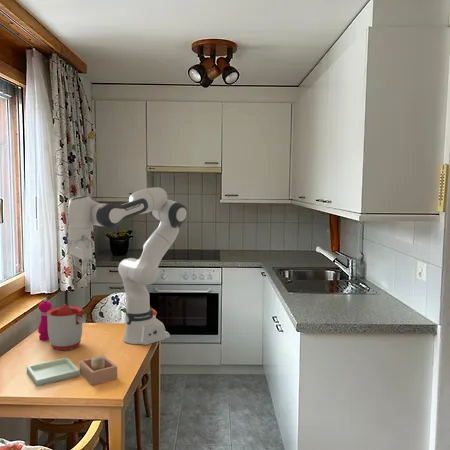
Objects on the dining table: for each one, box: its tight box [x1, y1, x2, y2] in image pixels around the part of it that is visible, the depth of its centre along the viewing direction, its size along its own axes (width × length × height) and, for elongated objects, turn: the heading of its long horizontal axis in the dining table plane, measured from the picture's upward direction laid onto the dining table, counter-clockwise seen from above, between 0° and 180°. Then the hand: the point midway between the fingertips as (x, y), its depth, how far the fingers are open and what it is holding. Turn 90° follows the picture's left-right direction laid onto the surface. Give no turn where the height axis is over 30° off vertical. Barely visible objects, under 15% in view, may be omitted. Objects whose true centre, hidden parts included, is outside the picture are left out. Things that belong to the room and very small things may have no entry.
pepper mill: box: [37, 297, 53, 342], centre depth 219 cm, size 7×7×20 cm
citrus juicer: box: [47, 303, 87, 351], centre depth 209 cm, size 16×17×20 cm
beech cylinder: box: [91, 355, 105, 371], centre depth 178 cm, size 5×5×7 cm
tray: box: [26, 357, 81, 387], centre depth 180 cm, size 16×16×2 cm
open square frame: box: [78, 355, 118, 386], centre depth 178 cm, size 10×14×5 cm
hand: (80, 267), depth 189 cm, fingers open, 8 cm apart
